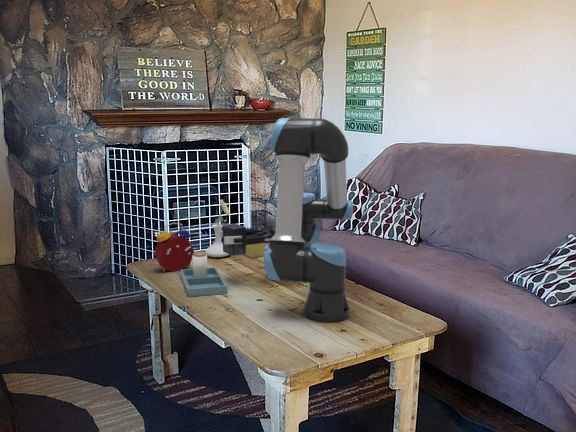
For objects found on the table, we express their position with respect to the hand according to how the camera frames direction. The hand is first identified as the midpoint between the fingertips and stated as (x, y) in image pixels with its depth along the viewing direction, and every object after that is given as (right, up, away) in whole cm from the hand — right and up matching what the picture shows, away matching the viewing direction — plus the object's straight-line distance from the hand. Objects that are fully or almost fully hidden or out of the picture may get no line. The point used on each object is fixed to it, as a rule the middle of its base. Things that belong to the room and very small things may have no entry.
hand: (222, 237), depth 219 cm
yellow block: (+10, -9, +44) cm, 46 cm away
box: (+4, -6, +2) cm, 8 cm away
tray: (-7, -18, +1) cm, 19 cm away
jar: (-9, -16, +8) cm, 20 cm away
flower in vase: (-6, -10, +41) cm, 43 cm away
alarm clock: (-21, -15, +17) cm, 31 cm away
